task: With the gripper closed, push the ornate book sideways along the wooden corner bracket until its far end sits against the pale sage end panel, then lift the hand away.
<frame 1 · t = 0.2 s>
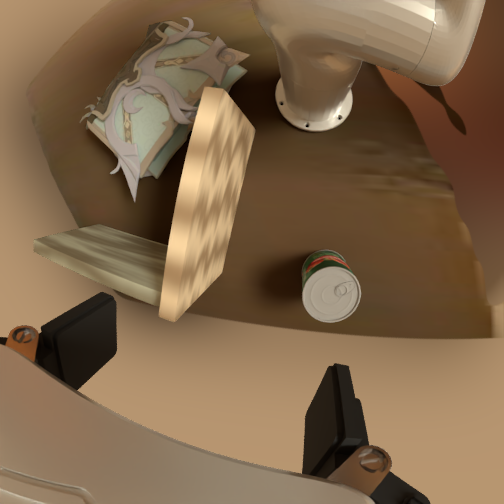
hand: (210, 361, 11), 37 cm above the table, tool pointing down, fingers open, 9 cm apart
ornate book: (166, 103, 45), on the table
canned tomato: (325, 272, 46), on the table
wooden corner bracket: (163, 185, 47), on the table
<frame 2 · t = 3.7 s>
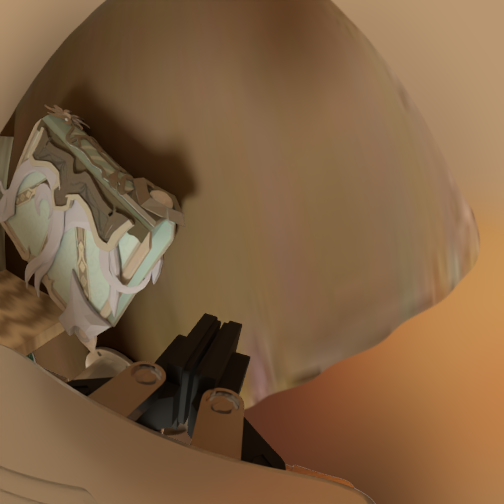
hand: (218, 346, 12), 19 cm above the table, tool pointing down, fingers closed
ornate book: (86, 214, 34), on the table
wooden corner bracket: (31, 220, 35), on the table
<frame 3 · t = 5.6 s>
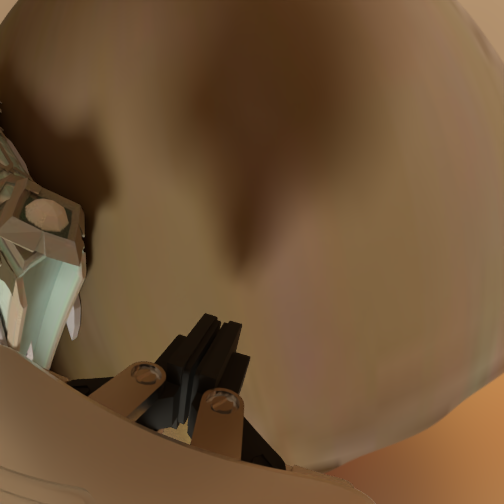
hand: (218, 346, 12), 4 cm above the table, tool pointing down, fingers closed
ornate book: (1, 230, 19), on the table
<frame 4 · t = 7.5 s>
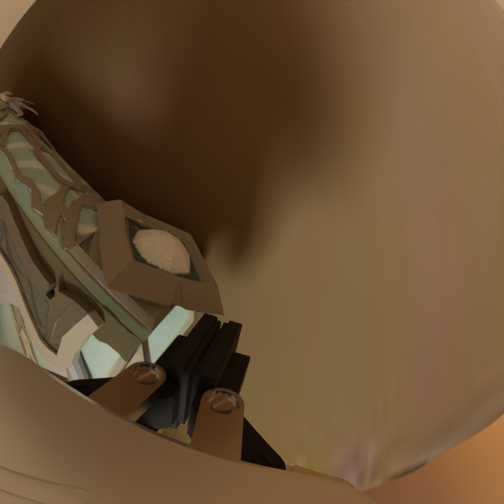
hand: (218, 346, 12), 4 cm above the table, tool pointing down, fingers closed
ornate book: (43, 258, 19), on the table
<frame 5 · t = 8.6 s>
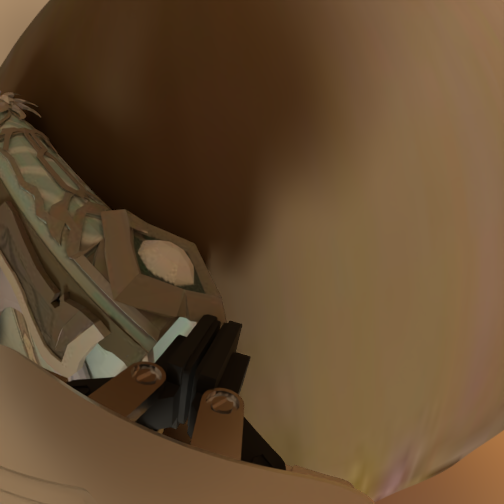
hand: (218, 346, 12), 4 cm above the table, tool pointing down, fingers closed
ornate book: (45, 261, 19), on the table, touching gripper
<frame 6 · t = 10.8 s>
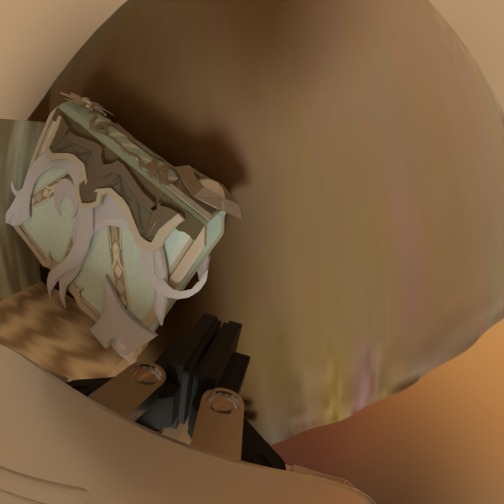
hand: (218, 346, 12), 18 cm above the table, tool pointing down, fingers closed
ornate book: (114, 210, 32), on the table
wooden corner bracket: (80, 225, 33), on the table
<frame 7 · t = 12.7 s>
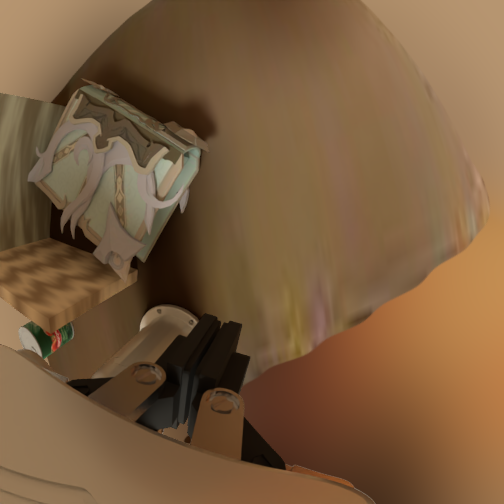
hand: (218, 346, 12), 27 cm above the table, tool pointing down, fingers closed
ornate book: (118, 167, 40), on the table
canned tomato: (62, 323, 50), on the table
wooden corner bracket: (89, 184, 41), on the table
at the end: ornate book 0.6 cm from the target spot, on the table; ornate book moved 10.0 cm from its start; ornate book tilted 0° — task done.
